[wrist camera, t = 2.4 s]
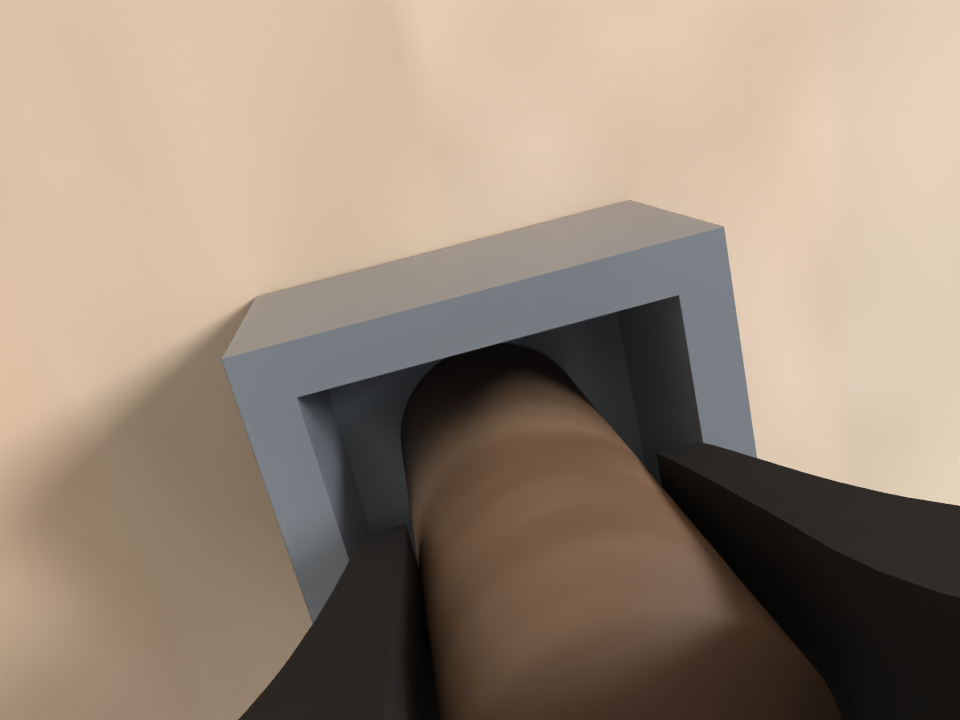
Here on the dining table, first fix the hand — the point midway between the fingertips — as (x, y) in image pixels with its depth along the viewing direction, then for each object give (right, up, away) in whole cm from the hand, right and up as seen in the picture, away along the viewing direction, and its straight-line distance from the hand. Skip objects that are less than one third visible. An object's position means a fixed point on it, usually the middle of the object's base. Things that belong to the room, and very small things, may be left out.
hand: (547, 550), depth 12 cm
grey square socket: (-1, +1, +5) cm, 5 cm away
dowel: (-1, +1, +4) cm, 5 cm away
